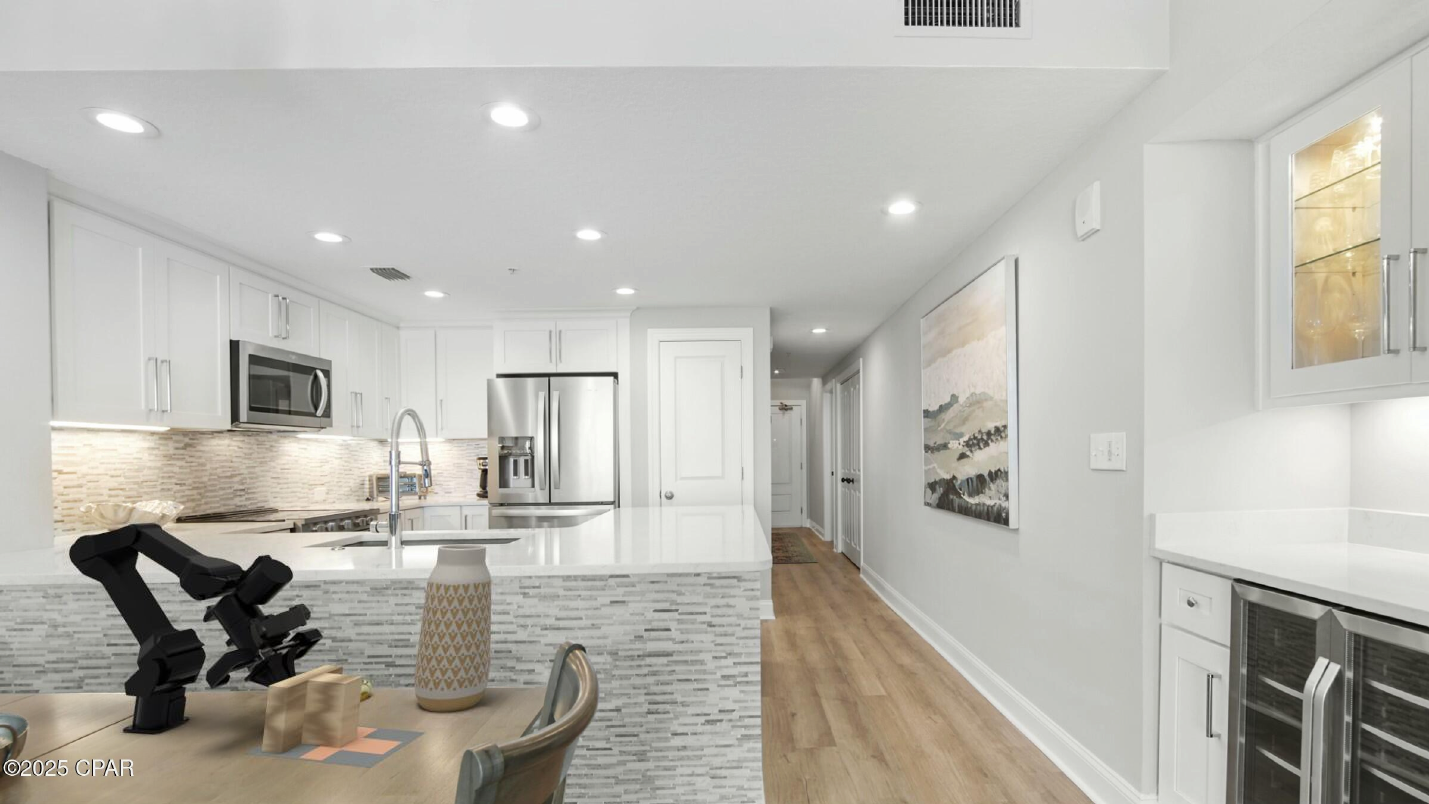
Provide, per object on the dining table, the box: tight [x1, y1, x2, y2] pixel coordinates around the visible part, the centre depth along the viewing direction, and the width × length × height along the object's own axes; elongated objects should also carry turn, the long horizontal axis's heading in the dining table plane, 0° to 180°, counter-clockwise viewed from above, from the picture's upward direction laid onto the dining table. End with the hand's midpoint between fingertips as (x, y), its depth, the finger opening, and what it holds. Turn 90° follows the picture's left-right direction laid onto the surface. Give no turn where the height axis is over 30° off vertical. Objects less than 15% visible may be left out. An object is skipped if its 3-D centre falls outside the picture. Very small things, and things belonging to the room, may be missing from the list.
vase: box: [414, 543, 492, 713], centre depth 128 cm, size 14×14×31 cm
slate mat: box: [244, 725, 426, 769], centre depth 106 cm, size 22×14×1 cm, turn 81°
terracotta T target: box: [299, 727, 402, 760], centre depth 105 cm, size 12×13×1 cm
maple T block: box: [261, 664, 363, 754], centre depth 107 cm, size 10×12×10 cm
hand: (295, 694), depth 108 cm, fingers closed, pressing on maple T block
